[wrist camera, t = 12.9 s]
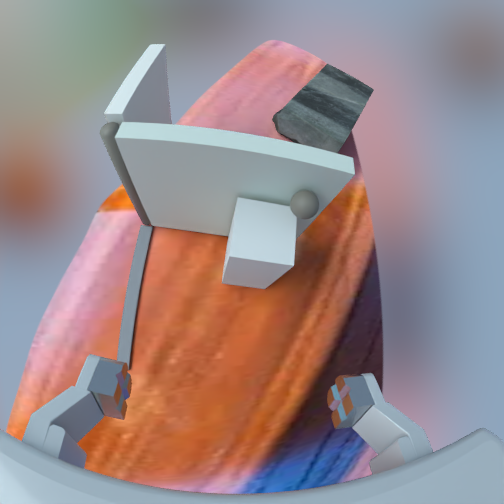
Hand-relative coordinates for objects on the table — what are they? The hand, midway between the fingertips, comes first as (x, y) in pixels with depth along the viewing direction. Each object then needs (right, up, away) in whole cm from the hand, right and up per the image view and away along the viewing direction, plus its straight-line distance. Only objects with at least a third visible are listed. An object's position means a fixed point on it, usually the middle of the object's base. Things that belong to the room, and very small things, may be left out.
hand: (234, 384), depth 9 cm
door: (-3, +7, +16) cm, 18 cm away
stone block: (+10, +23, +24) cm, 35 cm away
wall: (-10, +5, +15) cm, 19 cm away
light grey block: (0, +4, +16) cm, 17 cm away
